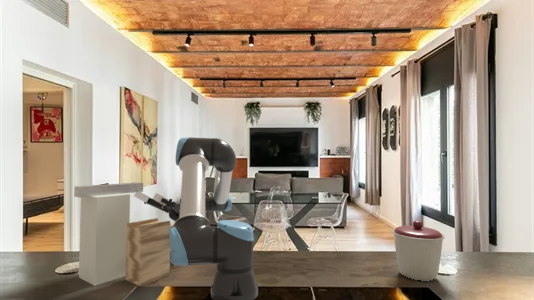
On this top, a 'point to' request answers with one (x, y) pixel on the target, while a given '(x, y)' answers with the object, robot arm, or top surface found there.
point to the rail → (107, 189)
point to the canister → (418, 251)
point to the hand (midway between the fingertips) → (144, 194)
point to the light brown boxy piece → (147, 251)
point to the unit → (103, 237)
